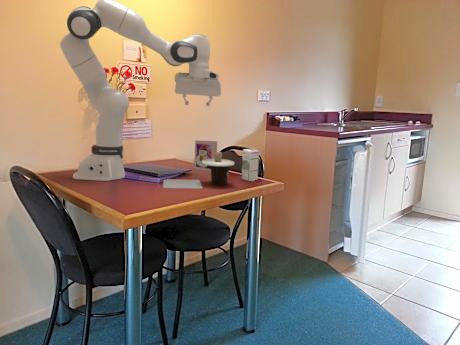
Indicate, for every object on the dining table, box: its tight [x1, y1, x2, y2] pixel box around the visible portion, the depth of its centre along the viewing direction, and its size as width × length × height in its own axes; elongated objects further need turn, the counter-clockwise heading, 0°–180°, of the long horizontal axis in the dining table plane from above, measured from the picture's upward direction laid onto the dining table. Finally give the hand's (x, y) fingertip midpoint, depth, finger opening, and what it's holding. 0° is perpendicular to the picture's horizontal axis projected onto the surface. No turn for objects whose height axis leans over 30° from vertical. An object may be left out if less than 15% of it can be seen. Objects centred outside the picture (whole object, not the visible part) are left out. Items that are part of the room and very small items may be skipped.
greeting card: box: [193, 139, 218, 173], centre depth 205 cm, size 11×7×15 cm, turn 61°
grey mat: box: [162, 178, 203, 190], centre depth 171 cm, size 16×16×1 cm
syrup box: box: [240, 148, 260, 182], centre depth 186 cm, size 6×6×14 cm
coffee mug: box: [210, 166, 231, 187], centre depth 171 cm, size 12×9×10 cm
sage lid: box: [202, 151, 235, 167], centre depth 170 cm, size 14×14×5 cm
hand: (197, 105), depth 176 cm, fingers open, 8 cm apart
